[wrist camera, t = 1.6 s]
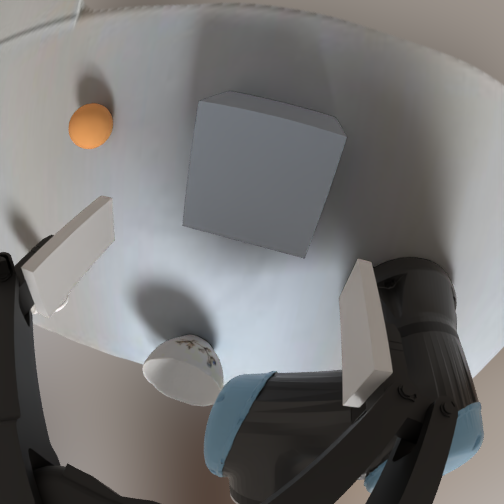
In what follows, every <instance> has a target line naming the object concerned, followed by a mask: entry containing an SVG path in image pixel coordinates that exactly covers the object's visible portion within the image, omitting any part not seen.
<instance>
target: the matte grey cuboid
mask: <svg viewBox="0 0 504 504" xmlns="http://www.w3.org/2000/svg"><path fill="white" fill-rule="evenodd" d="M346 139H347V136H346V134H345V132H344V131H343V129H342V127H341V126H340V124H339V122H338V121H337V119H336V117H333V116H330V115H326V114H323V113H320V112H316V111H313V110H309V109H306V108H302V107H298V106H295V105H291V104H287V103H283V102H279V101H275V100H270V99H266V98H262V97H257V96H252V95H248V94H243V93H238V92H232V91H227V92H224V93H221V94H218V95H215V96H212V97H208V98H206V99H203V100H200V101H199V103H198V109H197V115H196V122H195V128H194V135H193V142H192V149H191V156H190V164H189V171H188V180H187V188H186V197H185V206H184V216H183V226H185V227H189V228H193V229H197V230H201V231H204V232H208V233H212V234H216V235H219V236H223V237H227V238H231V239H234V240H238V241H242V242H246V243H249V244H253V245H257V246H260V247H264V248H268V249H272V250H275V251H279V252H283V253H286V254H290V255H294V256H297V257H301V258H305V256H306V254H307V251H308V249H309V246H310V243H311V240H312V238H313V235H314V232H315V230H316V227H317V224H318V221H319V219H320V216H321V213H322V210H323V207H324V204H325V202H326V199H327V196H328V193H329V190H330V187H331V184H332V181H333V178H334V176H335V173H336V170H337V167H338V164H339V161H340V158H341V154H342V151H343V148H344V145H345V142H346Z"/></svg>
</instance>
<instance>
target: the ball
mask: <svg viewBox="0 0 504 504" xmlns="http://www.w3.org/2000/svg"><path fill="white" fill-rule="evenodd" d="M112 128H113V119H112V116H111V114H110V112H109V111H108V109H107V108H105V107H104V106H102V105H100V104H96V103H91V104H86V105H84V106H82V107H80V108H79V109H78V110H77V111H76V112H75V113H74V114H73V115H72V117H71V119H70V122H69V135H70V138H71V139H72V141H73V142H74V143H75V144H76V145H77V146H79V147H81V148H84V149H93V148H96V147H98V146H100V145H102V144H103V143H104V142H105V141H106V140H107V139H108V138H109V136H110V134H111V132H112Z"/></svg>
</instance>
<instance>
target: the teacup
mask: <svg viewBox="0 0 504 504" xmlns="http://www.w3.org/2000/svg"><path fill="white" fill-rule="evenodd" d="M142 370H143V374H144V376H145V378H146V379H147V380H148V382H149V383H152V384H153V385H154V387H155V388H156V389H157V390H158V391H160V392H161V393H163V394H164V395H166V396H168V397H171V398H173V399H176V400H178V401H181V402H185V403H188V404H190V405H200V406H208V405H212V404H214V403H215V401H216V398H217V396H218V394H219V393H220V391H221V390H222V388H223V370H222V366H221V363H220V360H219V358H218V356H217V354H216V353H215V351H214V350H213V348H212V347H211V345H210V344H209V343H208V342H207V341H205V340H204V339H202V338H200V337H198V336H195V335H185V336H181V337H176V338H173V339H170V340H168V341H166V342H164V343H162V344H161V345H159V346H158V347H157V348H156V349H155V350H154V351H153V352H152V353H151V354H150V355H149V357H148V358H147V359H146V361H145V363H144V365H143V369H142Z"/></svg>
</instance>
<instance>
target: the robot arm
mask: <svg viewBox="0 0 504 504" xmlns="http://www.w3.org/2000/svg"><path fill="white" fill-rule="evenodd" d="M114 241H115V235H114V221H113V204H112V198H110V197H105V196H100V197H99V198H97V199H96V200H95V201H94V202H92V203H91V204H90V205H89V206H87V207H86V208H85V209H84V210H83V211H81V212H80V213H79V214H78V215H77V216H76V217H74V218H73V219H72V220H71V221H70V222H69V223H67V224H66V225H65V226H64V227H63V228H62V229H61V230H60V231H58V232H57V233H56V234H55V235H50V236H48V237H46V238H44V239H43V240H41V241H40V242H39V243H38V244H37V245H36V247H34V248H33V249H32V250H31V252H29V253H28V254H27V255H26V256H25V257H23V258H22V259H21V260H20V261H19V262H18V263H17V264H16V265H15V266H14V264H13V261H12V257H11V255H10V254H9V253H6V252H1V253H0V504H160V503H157V502H154V501H150V500H142V499H135V498H128V497H122V496H120V495H119V494H117V493H116V492H114V491H113V490H112V489H110V488H109V487H107V486H106V485H104V484H103V483H101V482H100V481H99V480H97V479H96V478H94V477H93V476H91V475H89V474H87V473H85V472H83V471H81V470H79V469H76V468H75V467H73V466H71V465H69V464H67V466H66V467H64V466H60V463H59V460H58V457H57V455H56V453H55V451H54V450H53V448H52V446H51V444H50V440H49V436H48V432H47V428H46V423H45V419H44V414H43V408H42V403H41V398H40V391H39V385H38V378H37V370H36V361H35V352H34V340H33V321H32V312H31V308H32V307H33V305H35V307H36V310H37V312H38V314H40V315H42V316H44V317H46V318H48V319H50V317H51V316H52V315H53V314H54V312H55V311H56V310H57V308H58V307H59V306H60V304H61V303H62V302H63V301H64V299H65V298H66V297H67V296H68V294H69V293H70V292H71V291H72V289H73V288H74V287H75V286H76V284H77V283H78V282H79V281H80V280H81V278H82V277H83V276H84V275H85V274H86V272H87V271H88V270H89V269H90V268H91V267H92V265H93V264H94V263H95V262H96V261H97V260H98V259H99V257H100V256H101V255H102V254H103V253H104V252H105V251H106V249H107V248H108V247H109V246H110V245H111V244H112V243H113V242H114ZM339 306H340V323H341V344H342V370H334V371H320V372H299V373H277V371H272V372H269V373H264V374H244V375H239V376H237V377H234V378H233V379H231V380H230V381H229V382H228V383H227V384H226V385H225V386H224V387H223V388H222V390H221V391H220V393H219V394H218V396H217V398H216V401H215V403H214V405H213V407H212V410H211V412H210V416H209V419H208V423H207V427H206V432H205V440H204V457H205V462H206V465H207V467H208V468H209V470H210V471H211V472H212V473H213V474H215V475H218V476H219V477H228V478H229V483H230V495H231V498H232V499H233V501H234V502H235V503H236V504H334V503H335V502H336V501H337V500H338V499H339V498H340V497H341V496H342V495H343V494H344V493H345V492H346V491H347V490H348V489H349V488H350V487H351V486H352V485H353V483H354V482H355V481H356V480H362V479H364V480H365V481H364V486H365V487H366V489H367V491H368V492H370V493H371V495H370V497H369V498H368V500H367V502H366V504H432V503H433V500H434V498H435V495H436V492H437V490H438V486H439V484H440V481H441V478H442V476H443V475H445V474H447V473H449V472H451V471H453V470H455V469H456V468H458V467H460V466H461V465H463V464H464V463H466V462H467V461H468V460H469V459H471V458H472V457H473V456H474V455H475V454H476V453H477V451H478V450H479V449H480V447H481V444H482V442H483V438H484V431H483V423H482V416H481V404H480V402H479V401H478V398H477V394H476V390H475V387H474V383H473V380H472V376H471V373H470V370H469V367H468V363H467V360H466V357H465V354H464V351H463V348H462V346H461V343H460V340H459V337H458V334H457V318H456V294H455V290H454V287H453V285H452V283H451V281H450V279H449V277H448V275H447V273H446V272H445V271H444V270H443V269H442V268H441V267H440V266H439V265H437V264H436V263H434V262H431V261H429V260H426V259H421V258H401V259H396V260H392V261H389V262H386V263H384V264H381V265H379V266H377V267H375V268H373V266H372V262H369V261H366V260H362V259H357V261H356V263H355V266H354V268H353V270H352V272H351V274H350V276H349V278H348V280H347V283H346V285H345V287H344V289H343V291H342V293H341V295H340V297H339Z"/></svg>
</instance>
